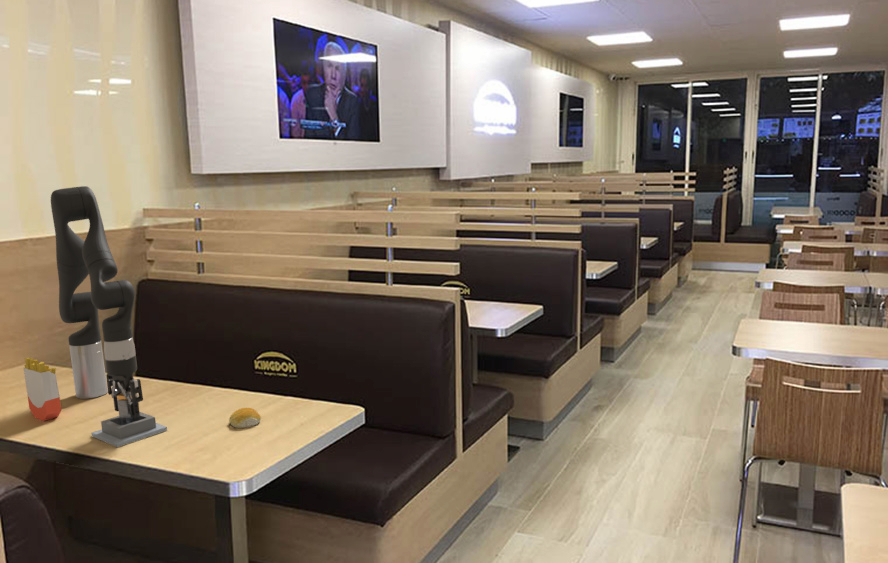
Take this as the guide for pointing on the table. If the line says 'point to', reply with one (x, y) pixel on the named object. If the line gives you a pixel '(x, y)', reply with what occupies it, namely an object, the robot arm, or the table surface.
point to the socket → (128, 430)
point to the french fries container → (42, 390)
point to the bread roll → (244, 418)
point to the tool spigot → (124, 410)
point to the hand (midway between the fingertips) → (127, 413)
